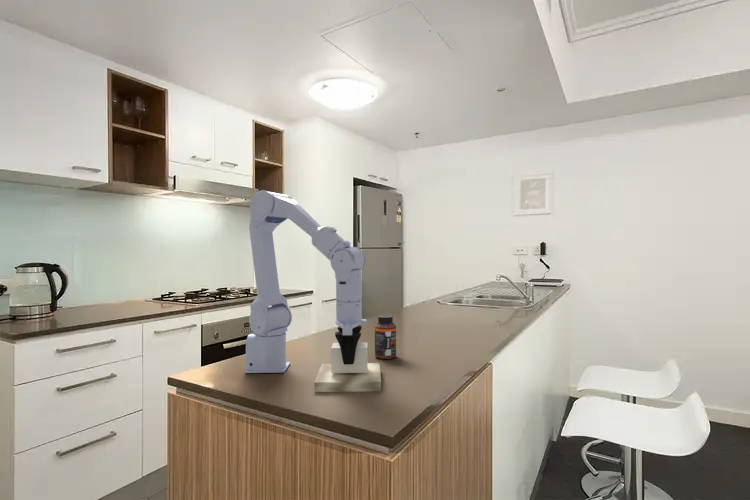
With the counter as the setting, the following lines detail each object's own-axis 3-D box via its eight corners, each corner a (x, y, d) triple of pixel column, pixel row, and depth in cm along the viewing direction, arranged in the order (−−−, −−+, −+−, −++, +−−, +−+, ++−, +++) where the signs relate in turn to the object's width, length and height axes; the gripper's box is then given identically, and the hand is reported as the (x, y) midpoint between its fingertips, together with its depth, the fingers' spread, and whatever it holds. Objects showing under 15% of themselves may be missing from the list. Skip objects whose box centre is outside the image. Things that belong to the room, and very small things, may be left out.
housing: (331, 372, 91) (331, 345, 90) (333, 366, 96) (333, 340, 95) (367, 372, 91) (367, 345, 91) (367, 366, 96) (367, 340, 96)
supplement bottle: (394, 360, 110) (394, 318, 110) (372, 359, 111) (372, 317, 111) (397, 354, 116) (397, 314, 115) (377, 353, 117) (376, 314, 117)
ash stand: (314, 392, 86) (314, 382, 86) (322, 371, 100) (322, 363, 100) (381, 391, 86) (381, 381, 86) (379, 371, 100) (379, 363, 100)
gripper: (366, 305, 86) (366, 369, 86) (366, 296, 100) (367, 352, 100) (332, 305, 86) (332, 370, 86) (337, 296, 100) (338, 352, 100)
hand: (349, 360), depth 93 cm, fingers closed on housing, 5 cm apart
